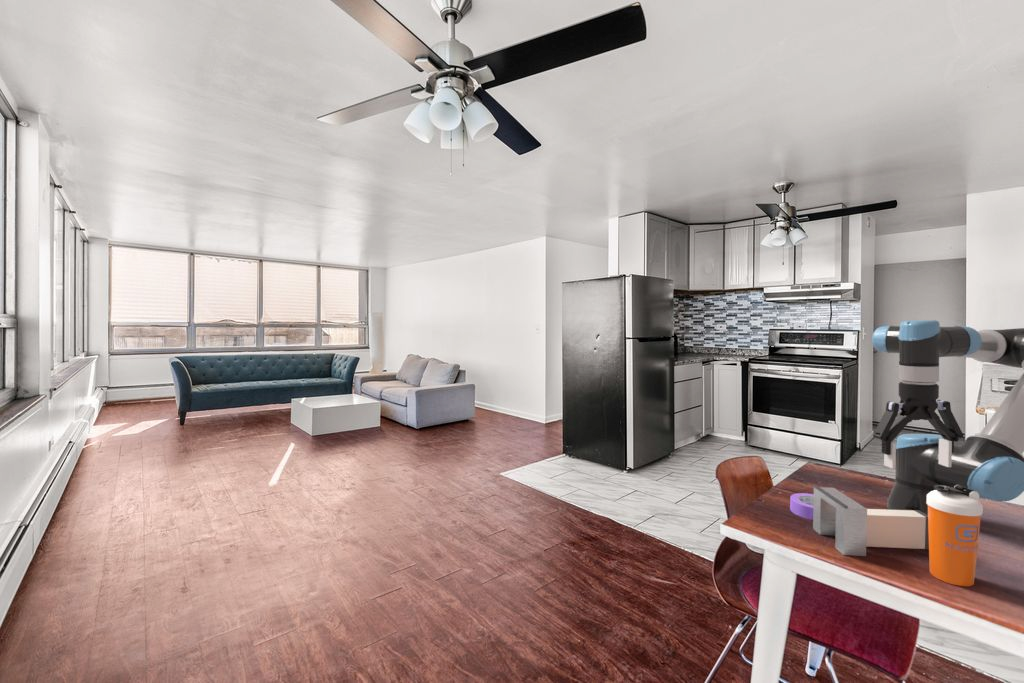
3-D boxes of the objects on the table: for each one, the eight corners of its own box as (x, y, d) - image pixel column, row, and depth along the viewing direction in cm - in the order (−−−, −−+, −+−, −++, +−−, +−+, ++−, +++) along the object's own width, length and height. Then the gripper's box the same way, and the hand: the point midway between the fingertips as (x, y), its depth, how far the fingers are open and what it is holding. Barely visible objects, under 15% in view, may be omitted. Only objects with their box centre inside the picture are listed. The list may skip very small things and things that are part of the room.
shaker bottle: (913, 567, 105) (915, 481, 104) (949, 565, 106) (951, 479, 105) (953, 590, 96) (956, 496, 95) (992, 588, 97) (996, 494, 96)
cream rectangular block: (917, 541, 117) (918, 510, 117) (930, 549, 113) (931, 517, 113) (849, 538, 119) (850, 507, 119) (859, 546, 115) (860, 514, 115)
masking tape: (846, 516, 133) (846, 503, 133) (822, 525, 128) (822, 511, 127) (805, 502, 143) (805, 490, 143) (781, 510, 138) (781, 497, 138)
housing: (832, 529, 125) (833, 485, 124) (866, 556, 110) (867, 506, 110) (812, 528, 125) (813, 484, 125) (844, 555, 111) (845, 506, 110)
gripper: (955, 378, 118) (953, 460, 119) (856, 381, 119) (856, 462, 120) (984, 382, 111) (982, 469, 112) (879, 386, 111) (878, 472, 112)
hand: (917, 466), depth 116 cm, fingers open, 13 cm apart
